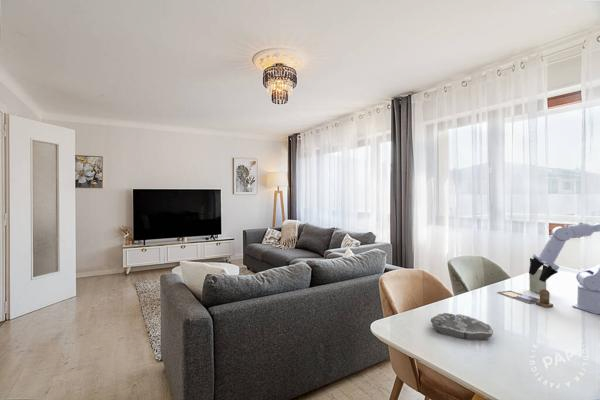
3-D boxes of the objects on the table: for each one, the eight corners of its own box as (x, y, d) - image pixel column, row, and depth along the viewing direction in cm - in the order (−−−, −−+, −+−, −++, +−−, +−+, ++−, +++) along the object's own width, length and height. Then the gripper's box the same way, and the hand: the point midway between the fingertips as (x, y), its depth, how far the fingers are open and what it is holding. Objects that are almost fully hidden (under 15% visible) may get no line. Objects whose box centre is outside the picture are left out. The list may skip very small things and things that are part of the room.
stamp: (553, 306, 134) (553, 290, 134) (545, 307, 133) (546, 291, 133) (542, 303, 138) (543, 287, 138) (535, 304, 137) (535, 288, 137)
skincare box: (546, 293, 152) (547, 269, 152) (537, 293, 153) (538, 269, 152) (537, 289, 159) (537, 266, 159) (528, 289, 159) (528, 266, 159)
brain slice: (482, 324, 115) (482, 316, 115) (498, 345, 99) (498, 336, 99) (427, 318, 121) (427, 310, 121) (432, 337, 105) (433, 328, 105)
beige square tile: (527, 297, 147) (527, 296, 147) (513, 298, 144) (513, 297, 144) (510, 291, 155) (510, 290, 155) (496, 292, 153) (496, 291, 153)
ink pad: (541, 302, 140) (541, 299, 140) (529, 303, 138) (529, 300, 138) (526, 297, 147) (526, 294, 147) (515, 298, 145) (515, 295, 145)
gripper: (532, 243, 145) (518, 268, 148) (553, 253, 131) (537, 280, 133) (546, 248, 145) (532, 273, 147) (569, 259, 130) (553, 286, 133)
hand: (536, 277), depth 140 cm, fingers open, 7 cm apart
